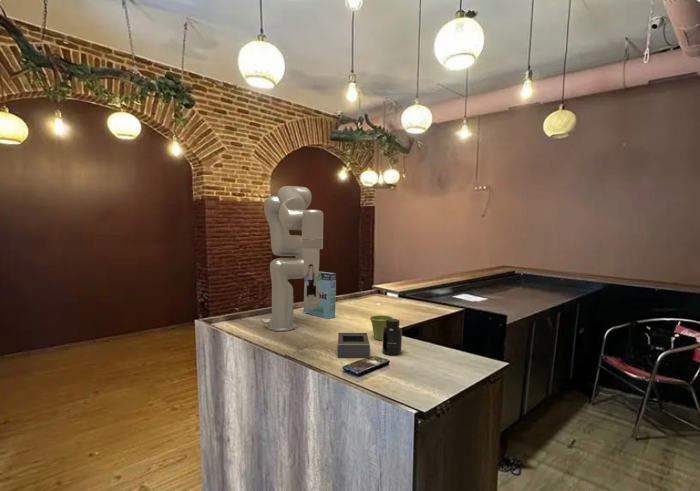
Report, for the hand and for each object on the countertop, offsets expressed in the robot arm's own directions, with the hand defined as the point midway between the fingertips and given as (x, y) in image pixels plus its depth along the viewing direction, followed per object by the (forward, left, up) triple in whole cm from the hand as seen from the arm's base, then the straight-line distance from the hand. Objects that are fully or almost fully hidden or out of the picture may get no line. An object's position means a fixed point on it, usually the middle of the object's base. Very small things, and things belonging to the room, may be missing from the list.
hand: (311, 295), depth 131 cm
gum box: (-1, +60, -21) cm, 63 cm away
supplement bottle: (+29, 0, -21) cm, 36 cm away
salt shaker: (0, 0, -5) cm, 5 cm away
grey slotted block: (+15, +2, -21) cm, 26 cm away
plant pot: (+27, +18, -21) cm, 39 cm away
